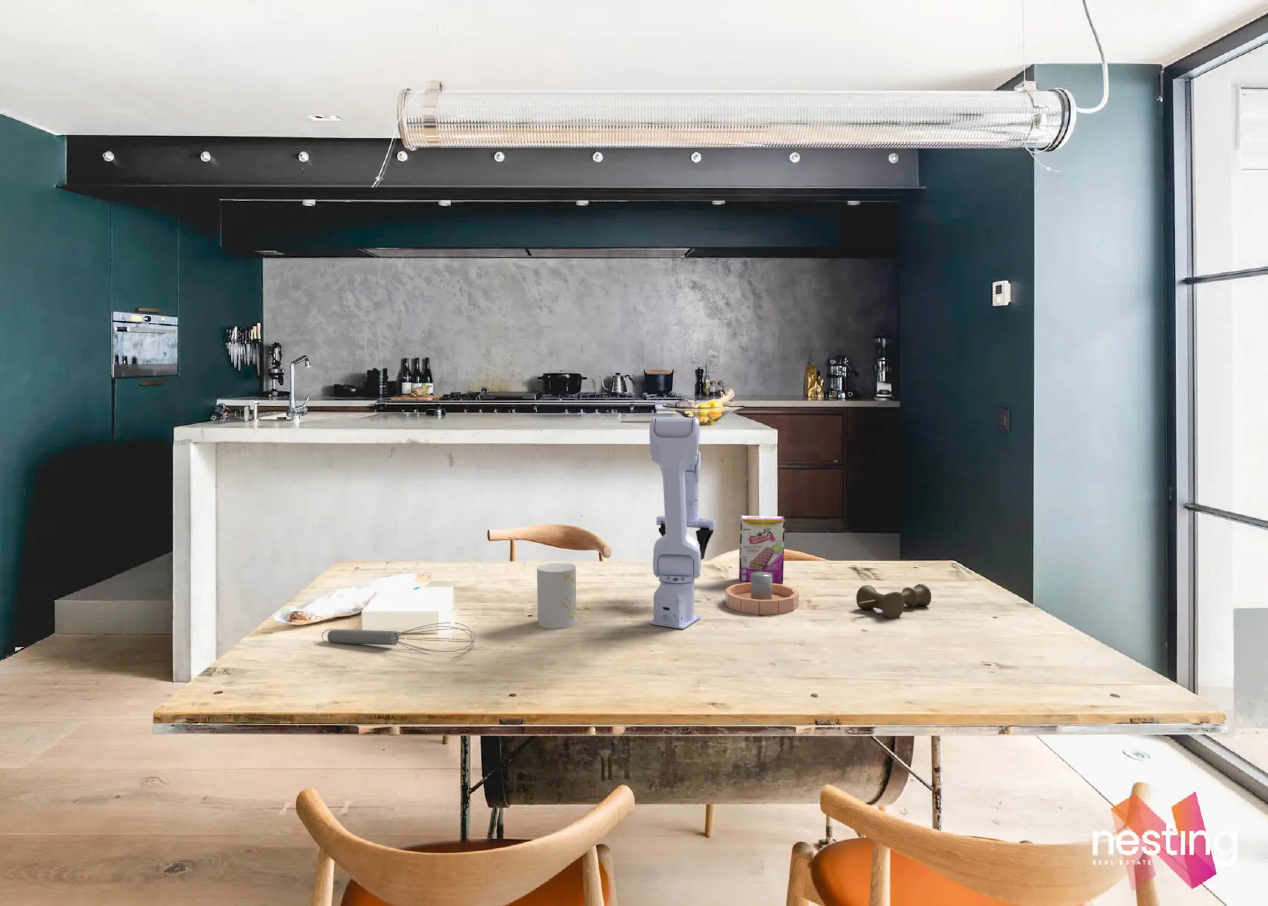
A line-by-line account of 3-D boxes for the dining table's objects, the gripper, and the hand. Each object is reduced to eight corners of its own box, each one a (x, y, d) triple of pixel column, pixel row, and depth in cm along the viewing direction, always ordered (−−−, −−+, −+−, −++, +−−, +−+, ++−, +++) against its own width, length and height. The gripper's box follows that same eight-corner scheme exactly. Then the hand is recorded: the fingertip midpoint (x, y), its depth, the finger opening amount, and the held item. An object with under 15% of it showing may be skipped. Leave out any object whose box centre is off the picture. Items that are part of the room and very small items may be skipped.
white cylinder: (570, 629, 171) (569, 572, 170) (532, 627, 172) (531, 570, 171) (580, 618, 179) (580, 563, 178) (544, 616, 180) (543, 562, 179)
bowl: (785, 618, 178) (785, 604, 178) (715, 608, 186) (715, 595, 185) (805, 599, 192) (806, 587, 192) (740, 591, 200) (740, 579, 199)
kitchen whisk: (331, 636, 168) (330, 606, 167) (482, 654, 158) (481, 621, 157) (311, 646, 162) (310, 615, 161) (466, 665, 152) (465, 631, 151)
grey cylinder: (769, 603, 186) (769, 577, 185) (748, 601, 187) (748, 575, 187) (773, 598, 190) (774, 572, 189) (753, 596, 192) (753, 570, 191)
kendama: (941, 612, 184) (873, 623, 175) (908, 603, 192) (841, 612, 183) (941, 585, 183) (873, 595, 174) (908, 577, 192) (842, 586, 183)
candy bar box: (739, 583, 208) (739, 518, 206) (738, 578, 213) (739, 515, 211) (784, 584, 207) (785, 519, 205) (782, 579, 212) (783, 515, 210)
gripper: (721, 499, 193) (721, 557, 195) (665, 495, 200) (665, 551, 201) (709, 504, 187) (709, 563, 189) (652, 499, 194) (652, 556, 195)
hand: (686, 557), depth 195 cm, fingers open, 7 cm apart
